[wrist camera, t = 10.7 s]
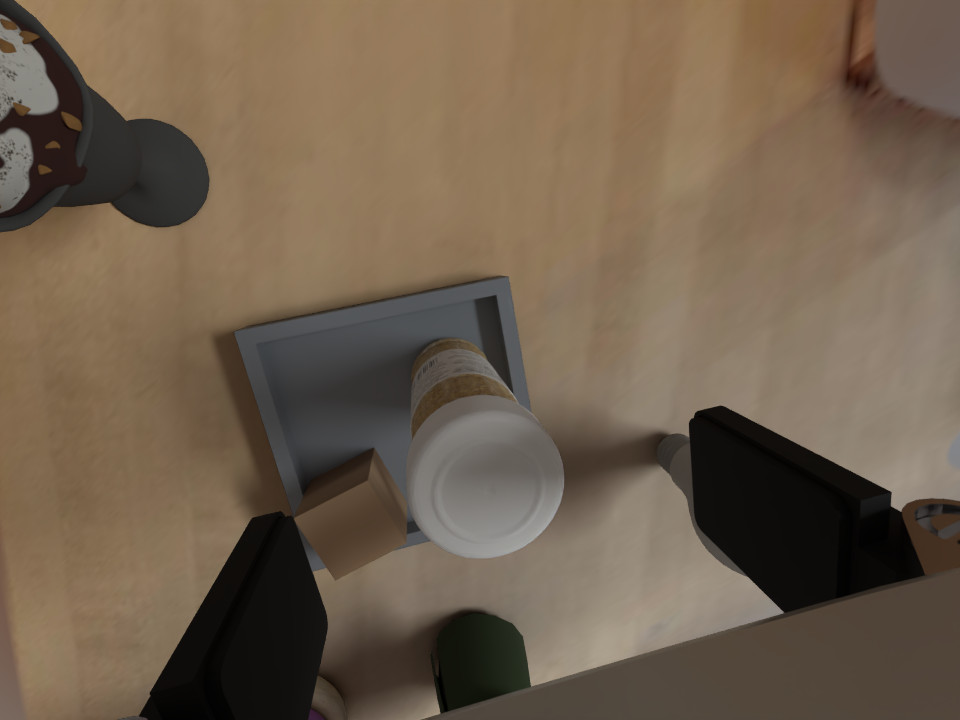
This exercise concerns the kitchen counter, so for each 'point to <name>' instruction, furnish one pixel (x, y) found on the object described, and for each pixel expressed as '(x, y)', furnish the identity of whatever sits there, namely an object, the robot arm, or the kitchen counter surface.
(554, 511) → the sprinkles bottle
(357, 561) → the walnut block
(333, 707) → the stacking toy
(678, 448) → the lightbulb
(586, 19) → the kitchen counter surface
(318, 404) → the slate tray
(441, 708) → the character mug
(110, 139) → the sundae
